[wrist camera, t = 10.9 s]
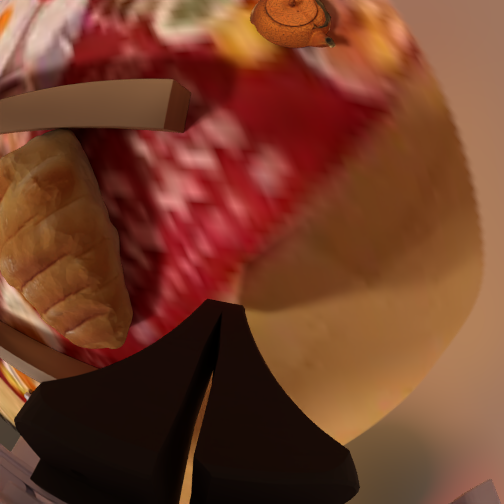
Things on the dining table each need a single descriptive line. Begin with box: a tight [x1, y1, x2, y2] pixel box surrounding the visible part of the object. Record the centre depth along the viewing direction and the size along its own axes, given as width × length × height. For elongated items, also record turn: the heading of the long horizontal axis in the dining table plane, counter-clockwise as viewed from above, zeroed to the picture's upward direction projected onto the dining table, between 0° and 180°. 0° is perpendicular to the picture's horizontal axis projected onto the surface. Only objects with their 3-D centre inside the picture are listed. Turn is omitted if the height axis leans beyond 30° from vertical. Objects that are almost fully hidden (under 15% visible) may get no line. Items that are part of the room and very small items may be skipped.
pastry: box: [0, 129, 133, 349], centre depth 9 cm, size 9×7×4 cm
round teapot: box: [250, 0, 335, 48], centre depth 6 cm, size 3×3×3 cm
